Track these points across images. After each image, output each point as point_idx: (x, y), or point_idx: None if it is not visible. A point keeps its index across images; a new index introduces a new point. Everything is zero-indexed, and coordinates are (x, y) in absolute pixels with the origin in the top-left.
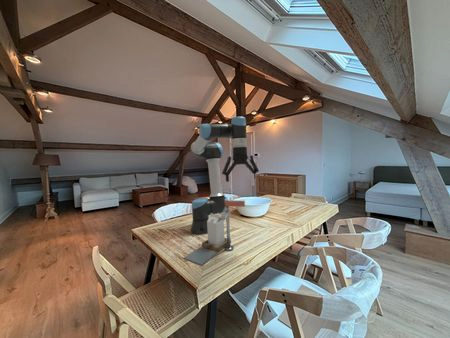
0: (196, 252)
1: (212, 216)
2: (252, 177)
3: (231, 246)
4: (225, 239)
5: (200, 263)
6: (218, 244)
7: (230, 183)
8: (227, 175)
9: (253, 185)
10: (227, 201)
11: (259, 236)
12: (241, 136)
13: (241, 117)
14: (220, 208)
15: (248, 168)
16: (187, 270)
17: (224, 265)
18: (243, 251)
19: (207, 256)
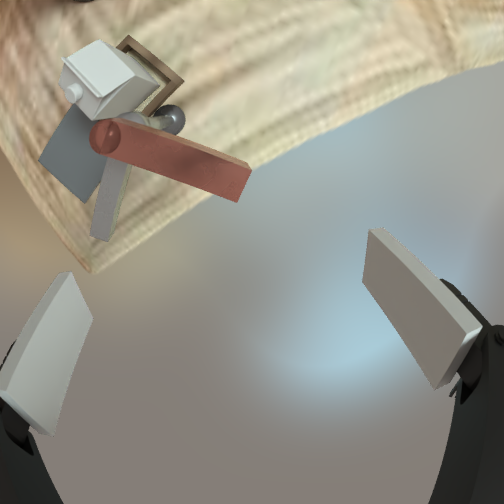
0: (65, 136)
1: (72, 72)
2: (412, 338)
3: (178, 114)
4: (162, 72)
5: (80, 197)
6: (130, 110)
7: (77, 353)
8: (23, 430)
9: (365, 283)
10: (108, 156)
11: (311, 61)
12: None
13: None
14: None
15: (482, 439)
16: (58, 215)
17: (142, 212)
18: (213, 148)
19: (96, 164)
